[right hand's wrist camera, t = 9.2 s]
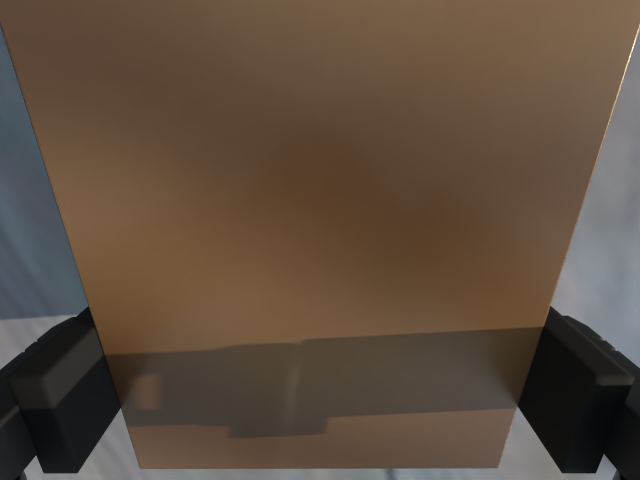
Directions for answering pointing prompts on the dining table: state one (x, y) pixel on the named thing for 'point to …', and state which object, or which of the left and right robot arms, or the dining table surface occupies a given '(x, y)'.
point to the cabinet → (319, 211)
